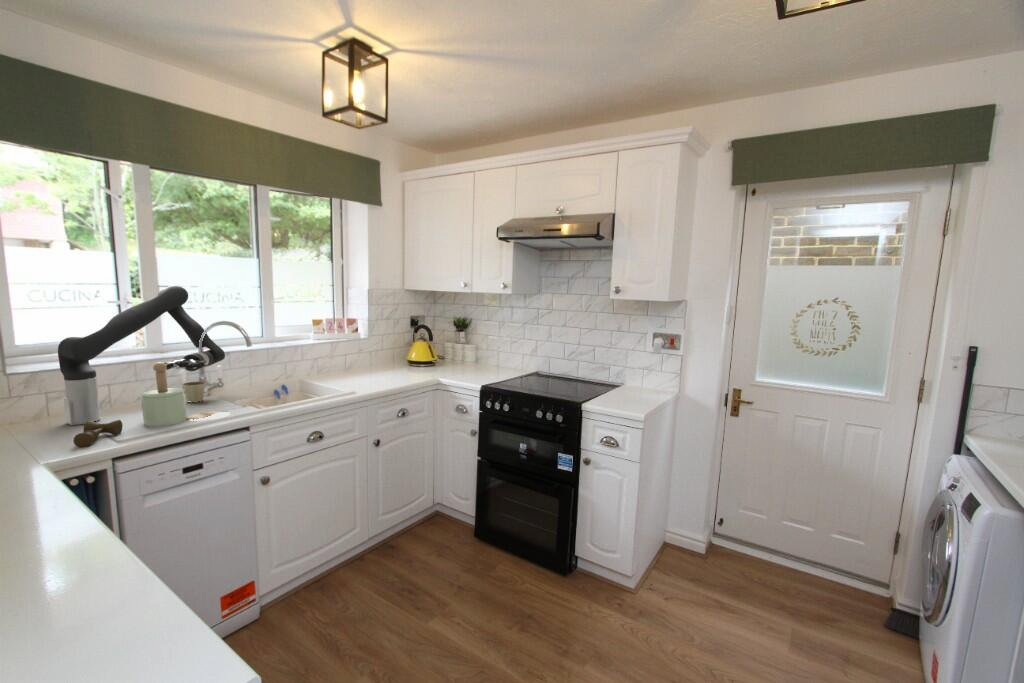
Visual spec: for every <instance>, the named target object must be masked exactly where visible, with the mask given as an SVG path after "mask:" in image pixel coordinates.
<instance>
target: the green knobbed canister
mask: <svg viewBox="0 0 1024 683" xmlns="http://www.w3.org/2000/svg"><path fill="white" fill-rule="evenodd" d="M152 369H153V371H154V372H155V380H156V389H154V390H153V389H152V390H149V391H145V392H142V393H141V394H140V399H141V400H140V402H141V411H142V417H143V425H144V424H145V425H144V426H147V427H163V426H162V425H164V426H169V425H170V424H171V425H175V423H176V424H179V422H180V423H182V421H183V422H185V421H186V419H187V417H188V412H187V403H186V402H187V401H186V394H185V390H184V388H181V387H170V388H168V380H167V370H166V369H167V366H166V364H165V362H163V361H158V362H156V363H155V364H154V365H153V366H152ZM171 425H170V426H171Z"/></svg>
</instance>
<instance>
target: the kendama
mask: <svg viewBox="0 0 1024 683" xmlns="http://www.w3.org/2000/svg"><path fill="white" fill-rule="evenodd" d="M122 431H123V422H122V420H121V419H116V420H112V421H111V422H108V423H107V422H106V423H100V422H97V421H96V422H94V421H92V420H89V421H87V422H86V423H85V424H83V432H80V433H77V434H76V435H74V437H73V444H74V446H75V447H77V448H88V447H90V446H92V444H93V443H94V442H96V441H98V439H99V435H100V434H104V433H105V434H111V435H114V436H119V435H121V433H122ZM118 434H119V435H118Z"/></svg>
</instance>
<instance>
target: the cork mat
mask: <svg viewBox="0 0 1024 683" xmlns="http://www.w3.org/2000/svg"><path fill="white" fill-rule="evenodd" d="M218 412H227V411H225V410H223V411H222V410H215V411H205V412H198V413H194V414H190V415H187V420H190V419H193V420H194V419H199V418H205V417H208V416H211V415H212V414H215V413H218Z"/></svg>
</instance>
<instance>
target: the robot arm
mask: <svg viewBox="0 0 1024 683" xmlns="http://www.w3.org/2000/svg"><path fill="white" fill-rule="evenodd" d="M188 299H189V292H188V291H187V289H185V288H184V287H182V286H178V285H173V286H168V287H166V288H164V289H161V290H159V291H158V293H157V296H155V297H154V298H151V299H149V300H145V301H144V302H141V303H139V304H135V305H134V306H131V307H128V308H126V309H124V310H123V311H121V312H119V313H117V314H116V315H114V316H113V317H111V319H110V320H109V321H108V322H107V324H105V326H104V327H102V328H100V329H98V330H97V331H95V332H93V333H91V334H88V335H87V336H86V335H85V336H82V337H80V336H79V337H77V336H70V337H69V336H68V337H66V338H64V339H62V340H61V341H60V342H59V344H58V347H57V356H58V362H59V369H60V372H61V374H62V376H63V381H64V391H65V392H64V394H65V398H64V410H65V411H64V412H65V420H66V421H65V422H66V424H68V425H69V426H75V425H85V423H86V422H87V421H89V420H92V421H96V422H98V420H99V421H100V420H101V414H100V403H99V402H100V401H99V393H98V392H99V390H98V381H97V379H98V378H97V371H96V370H95V369H94V368H93V367H92V366H91V364H90V362H89V361H91V360H93V359H95V358H96V357H98V356H99V355H100V354H102V353H103V352H104V351H106V350H108V349H109V348H110V347H112V346H113V345H115V344H117V343H118V342H120V341H122V340H124V339H125V338H127V337H129V336H131V335H132V334H135V333H136V332H138V331H140V330H141V329H143V328H145V327H146V326H147V325H150V324H151V323H152V322H154V321H155V320H157V319H158V318H159V317H160V316H162V315H163V314H165V313H168V314H169V315H170V316H171V318H172V319H173V320H174V321H175V322H176V323H177V324H178V325H179V327H181V329H182V330H183V331H184V333H185V334H186V336H188V338H189V340H190V341H191V342H192V344H193V345H194V347H195V348H197V349H200V348H199V340H200V338H201V335H202V333H203V332H204V330H205V329H204V328H203V327H202V325H201V324H200V323H199V322H197V321H196V320H195V319H194V318H192V317H191V316H190V315H189V314H188V313H187V312H186V310H185V309H184V308H183V305H185V304H186V303H187V301H188ZM202 348H206V349H207V350H205V351H203V350H202V351H199V352H194V353H190V354H187V355H185V356H183V358H182V359H180V360H178V359H177V360H169V361H166V362H164V363H165V364H166V366H167V369H166V371H168V370H171V369H174V370H180V369H181V370H183V369H185V370H186V371H188V372H196V371H198V370H201V369H204V368H205V367H209V366H212V365H215V364H216V363H219V362H221V361H223V360H224V359H225V358H226V353H225V351H224V350H223V349H222V348H221V347H220V346H219V345H218V344H217V343H216V342H215V341H214V340H212V339H211V338H210V336H209V335H208V333H207V332H206V334H205V336H204V338H203V341H202Z"/></svg>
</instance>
